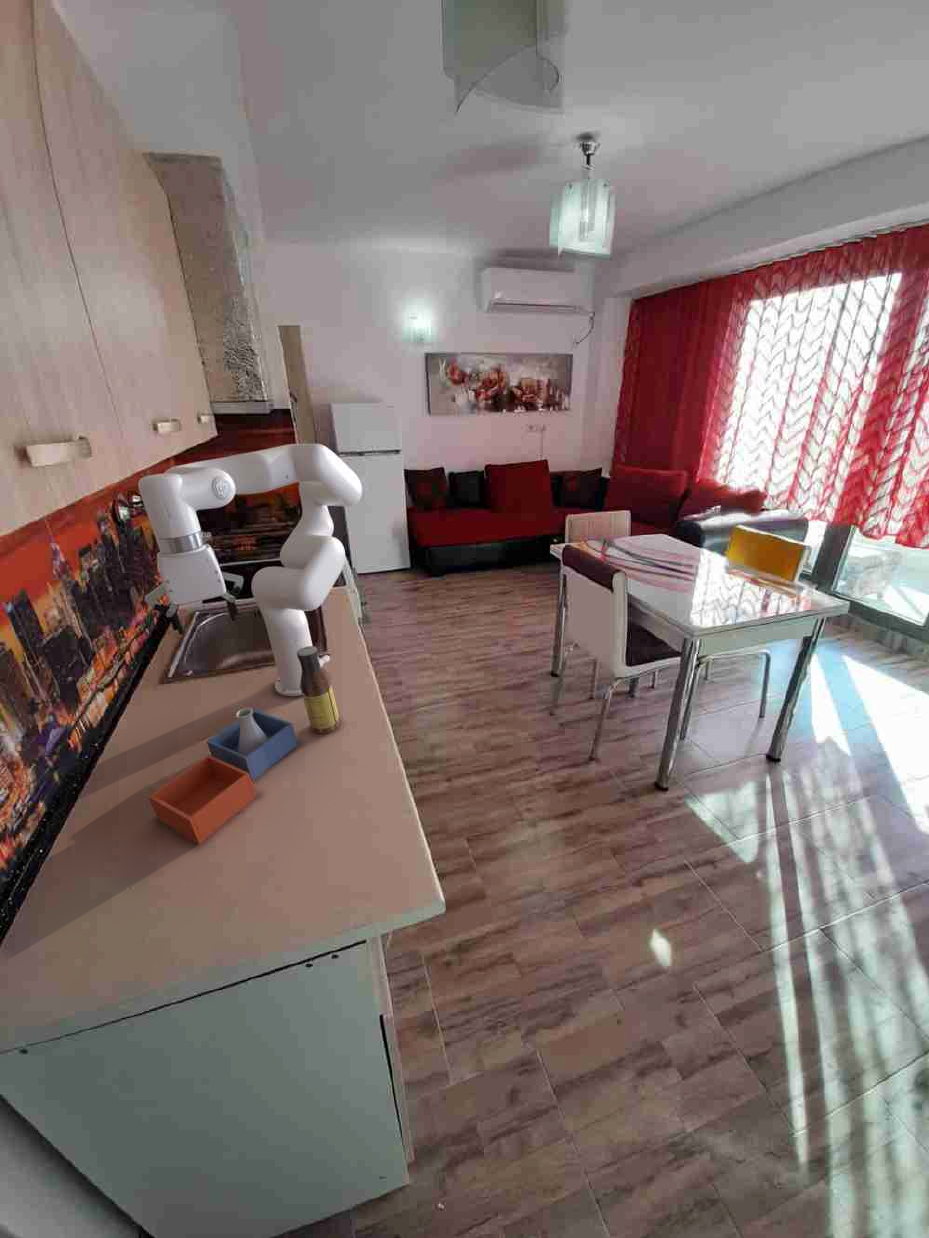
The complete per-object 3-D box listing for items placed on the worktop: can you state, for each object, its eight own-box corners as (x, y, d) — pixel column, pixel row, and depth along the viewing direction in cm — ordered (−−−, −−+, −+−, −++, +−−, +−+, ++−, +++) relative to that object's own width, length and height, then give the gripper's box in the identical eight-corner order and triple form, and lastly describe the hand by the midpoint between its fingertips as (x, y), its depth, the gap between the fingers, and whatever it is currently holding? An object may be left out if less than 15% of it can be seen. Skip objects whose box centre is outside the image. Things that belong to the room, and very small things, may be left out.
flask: (234, 767, 95) (221, 727, 90) (240, 744, 101) (227, 705, 97) (272, 759, 96) (261, 719, 92) (275, 737, 103) (264, 698, 98)
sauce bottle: (324, 715, 110) (307, 639, 101) (345, 721, 107) (330, 644, 99) (304, 732, 105) (285, 654, 96) (326, 738, 102) (308, 659, 94)
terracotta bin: (216, 776, 93) (208, 754, 91) (256, 796, 88) (249, 773, 86) (158, 819, 84) (147, 796, 82) (199, 844, 79) (189, 820, 77)
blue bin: (260, 729, 106) (254, 709, 104) (297, 744, 101) (292, 723, 99) (214, 763, 97) (206, 741, 95) (252, 781, 92) (245, 758, 89)
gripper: (228, 530, 95) (250, 608, 102) (127, 547, 87) (158, 630, 94) (234, 538, 89) (256, 620, 96) (126, 557, 81) (159, 645, 89)
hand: (207, 625), depth 95 cm, fingers open, 9 cm apart
